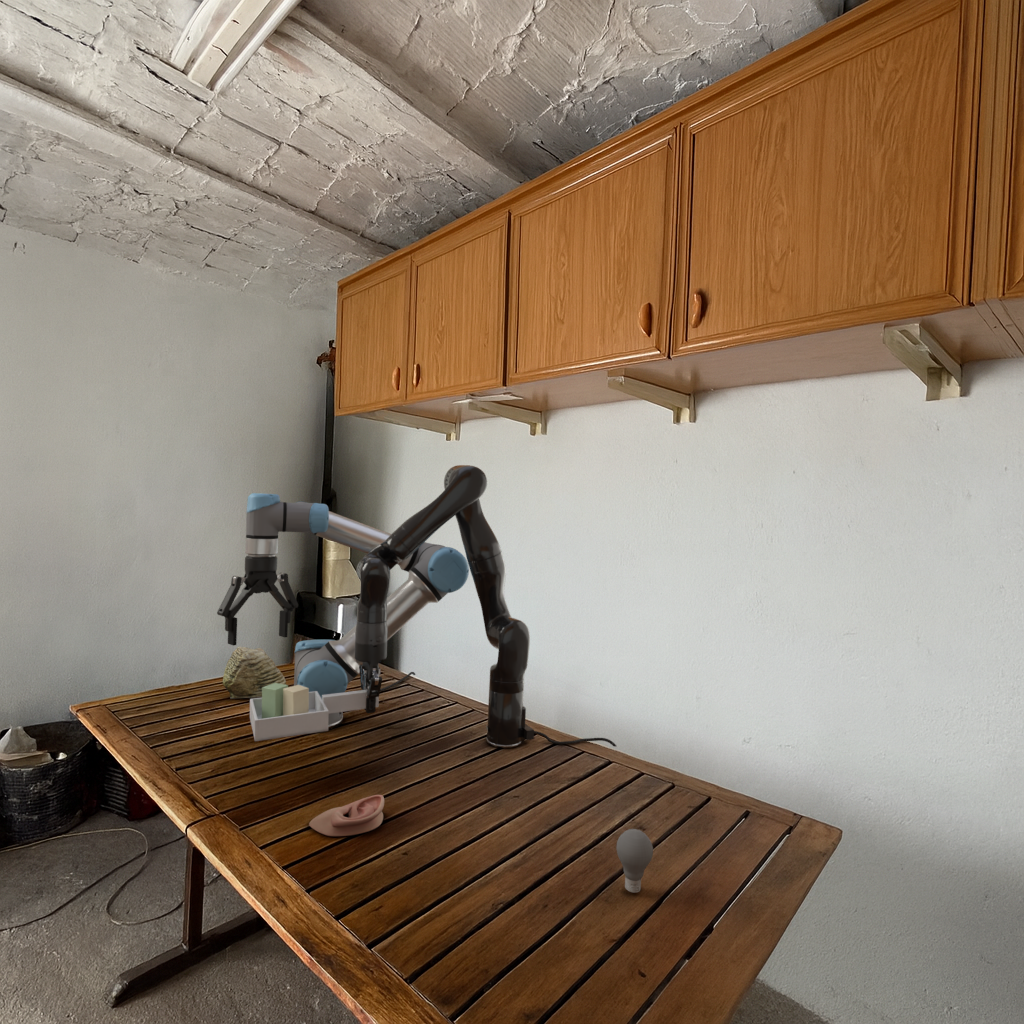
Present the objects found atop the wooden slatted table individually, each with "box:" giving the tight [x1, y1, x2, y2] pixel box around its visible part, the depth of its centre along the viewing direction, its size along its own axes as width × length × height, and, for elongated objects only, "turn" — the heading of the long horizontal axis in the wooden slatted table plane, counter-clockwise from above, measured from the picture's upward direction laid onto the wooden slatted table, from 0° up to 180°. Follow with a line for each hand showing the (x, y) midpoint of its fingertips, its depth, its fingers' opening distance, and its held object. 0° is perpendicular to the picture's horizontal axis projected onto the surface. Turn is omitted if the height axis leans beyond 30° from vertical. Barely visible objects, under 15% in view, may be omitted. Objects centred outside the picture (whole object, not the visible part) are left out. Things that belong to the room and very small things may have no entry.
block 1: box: [261, 683, 289, 719], centre depth 145 cm, size 4×4×8 cm
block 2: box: [283, 685, 309, 716], centre depth 143 cm, size 4×4×8 cm
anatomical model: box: [308, 794, 385, 837], centre depth 124 cm, size 13×4×12 cm
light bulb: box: [615, 828, 654, 894], centre depth 106 cm, size 6×6×10 cm
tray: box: [249, 689, 380, 742], centre depth 147 cm, size 28×15×6 cm, turn 116°
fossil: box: [222, 646, 287, 699], centre depth 198 cm, size 9×18×15 cm, turn 132°
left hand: (258, 640), depth 158 cm, fingers open, 13 cm apart
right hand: (369, 710), depth 152 cm, fingers closed on tray
